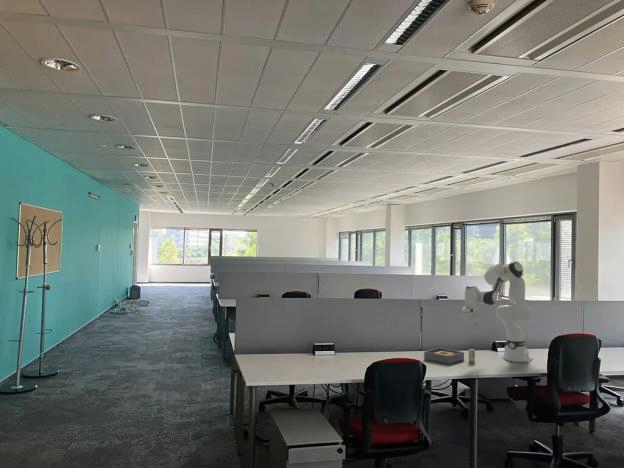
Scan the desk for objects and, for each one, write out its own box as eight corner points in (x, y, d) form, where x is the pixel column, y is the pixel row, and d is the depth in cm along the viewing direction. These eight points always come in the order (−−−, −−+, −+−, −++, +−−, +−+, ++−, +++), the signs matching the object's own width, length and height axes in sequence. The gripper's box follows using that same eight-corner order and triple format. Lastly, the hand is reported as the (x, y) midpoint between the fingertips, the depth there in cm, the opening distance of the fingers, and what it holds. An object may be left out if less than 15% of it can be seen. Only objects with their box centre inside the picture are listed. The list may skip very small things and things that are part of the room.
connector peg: (470, 361, 326) (470, 348, 326) (475, 362, 323) (475, 349, 323) (467, 362, 323) (467, 349, 324) (473, 363, 320) (473, 350, 321)
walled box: (439, 355, 344) (439, 347, 344) (464, 360, 330) (463, 352, 330) (424, 360, 330) (424, 351, 330) (449, 365, 316) (449, 356, 316)
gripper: (474, 307, 334) (474, 326, 334) (460, 309, 320) (460, 329, 319) (482, 308, 330) (482, 327, 329) (468, 310, 316) (468, 330, 315)
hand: (471, 328), depth 324 cm, fingers open, 8 cm apart
